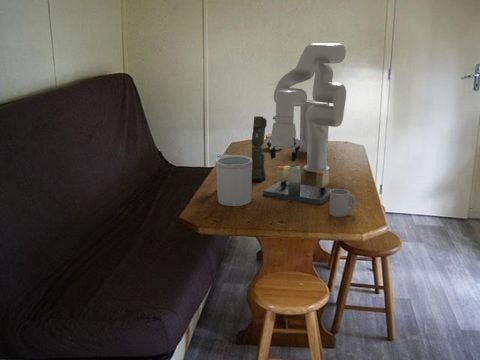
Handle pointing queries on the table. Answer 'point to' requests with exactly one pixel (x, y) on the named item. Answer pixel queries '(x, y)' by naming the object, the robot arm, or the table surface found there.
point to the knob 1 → (282, 174)
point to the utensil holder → (234, 180)
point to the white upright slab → (304, 122)
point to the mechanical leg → (258, 149)
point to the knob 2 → (322, 179)
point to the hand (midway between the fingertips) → (283, 159)
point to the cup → (340, 202)
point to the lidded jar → (270, 141)
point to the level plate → (304, 195)
